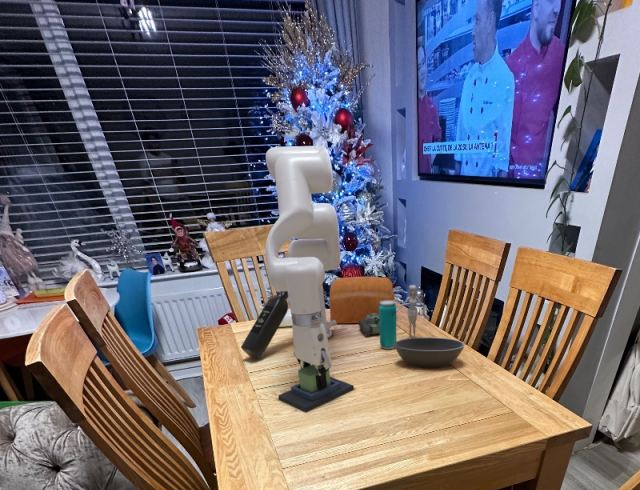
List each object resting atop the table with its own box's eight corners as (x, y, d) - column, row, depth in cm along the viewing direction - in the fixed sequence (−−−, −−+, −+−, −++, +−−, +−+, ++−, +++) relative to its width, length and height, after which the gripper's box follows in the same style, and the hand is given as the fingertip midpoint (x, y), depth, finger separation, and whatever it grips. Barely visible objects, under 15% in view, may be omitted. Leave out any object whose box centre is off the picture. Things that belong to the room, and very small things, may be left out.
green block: (319, 380, 125) (317, 362, 121) (331, 385, 122) (329, 366, 118) (300, 388, 121) (297, 370, 117) (312, 393, 118) (309, 374, 114)
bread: (394, 323, 171) (394, 280, 161) (329, 324, 172) (325, 282, 162) (395, 313, 182) (394, 272, 172) (333, 314, 183) (330, 274, 173)
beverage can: (399, 345, 152) (398, 300, 142) (392, 351, 148) (391, 305, 138) (384, 343, 154) (383, 299, 144) (377, 348, 150) (375, 303, 140)
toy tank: (383, 325, 169) (382, 307, 165) (392, 335, 160) (392, 316, 156) (358, 329, 167) (357, 310, 163) (366, 338, 158) (365, 319, 154)
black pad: (326, 378, 131) (325, 369, 129) (353, 389, 125) (353, 380, 123) (278, 399, 121) (276, 390, 119) (306, 411, 114) (304, 402, 113)
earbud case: (271, 321, 178) (269, 308, 174) (303, 319, 179) (301, 306, 175) (269, 329, 170) (267, 315, 166) (302, 327, 171) (300, 313, 167)
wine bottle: (250, 350, 139) (293, 275, 143) (239, 347, 142) (281, 273, 146) (261, 360, 144) (302, 287, 148) (249, 357, 147) (290, 285, 151)
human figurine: (396, 341, 155) (395, 287, 144) (395, 337, 158) (394, 284, 147) (429, 339, 156) (431, 285, 144) (427, 336, 159) (429, 283, 147)
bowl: (463, 371, 132) (465, 351, 129) (392, 370, 135) (392, 350, 131) (462, 356, 142) (464, 337, 138) (396, 355, 144) (396, 337, 140)
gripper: (340, 320, 107) (346, 388, 118) (297, 309, 116) (306, 373, 128) (317, 328, 103) (325, 398, 114) (274, 315, 112) (286, 381, 123)
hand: (315, 384), depth 121 cm, fingers closed on green block, 4 cm apart
